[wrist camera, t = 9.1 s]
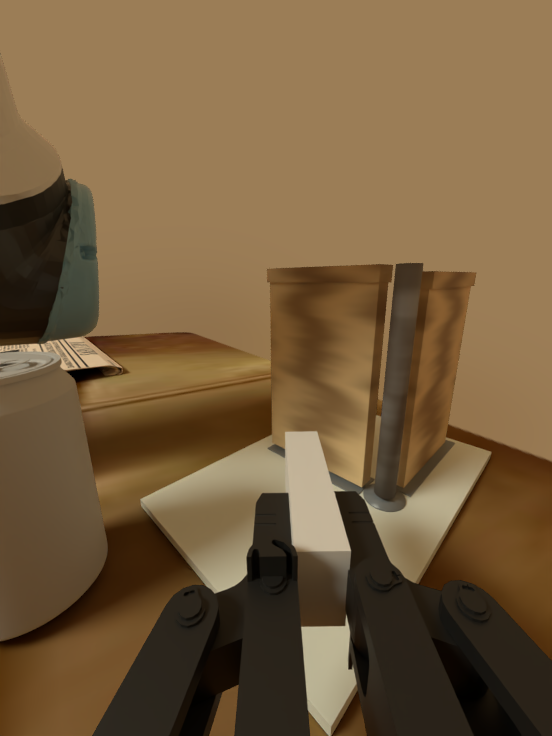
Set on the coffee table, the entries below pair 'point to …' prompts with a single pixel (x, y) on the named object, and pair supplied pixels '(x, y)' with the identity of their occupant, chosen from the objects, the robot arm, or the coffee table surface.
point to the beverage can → (44, 494)
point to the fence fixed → (433, 367)
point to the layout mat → (391, 517)
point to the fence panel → (343, 362)
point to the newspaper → (72, 354)
